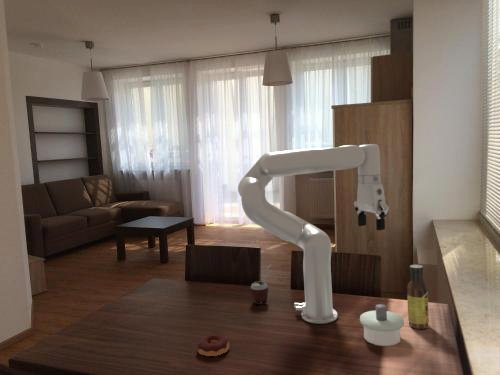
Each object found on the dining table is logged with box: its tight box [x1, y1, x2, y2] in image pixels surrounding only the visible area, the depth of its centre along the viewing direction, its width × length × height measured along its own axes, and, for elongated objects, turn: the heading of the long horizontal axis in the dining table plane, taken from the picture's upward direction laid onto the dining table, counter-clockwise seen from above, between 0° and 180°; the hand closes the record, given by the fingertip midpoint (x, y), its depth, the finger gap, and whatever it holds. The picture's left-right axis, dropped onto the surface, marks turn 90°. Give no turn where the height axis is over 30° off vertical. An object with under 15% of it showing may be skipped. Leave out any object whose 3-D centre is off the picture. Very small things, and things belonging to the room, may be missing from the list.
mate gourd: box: [249, 263, 273, 305], centre depth 162 cm, size 8×8×15 cm
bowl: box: [363, 326, 401, 347], centre depth 127 cm, size 11×11×5 cm
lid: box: [359, 304, 405, 331], centre depth 127 cm, size 13×13×5 cm
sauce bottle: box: [406, 264, 430, 330], centre depth 133 cm, size 7×6×20 cm
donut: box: [196, 333, 230, 357], centre depth 127 cm, size 10×10×4 cm
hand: (371, 227), depth 145 cm, fingers open, 9 cm apart
